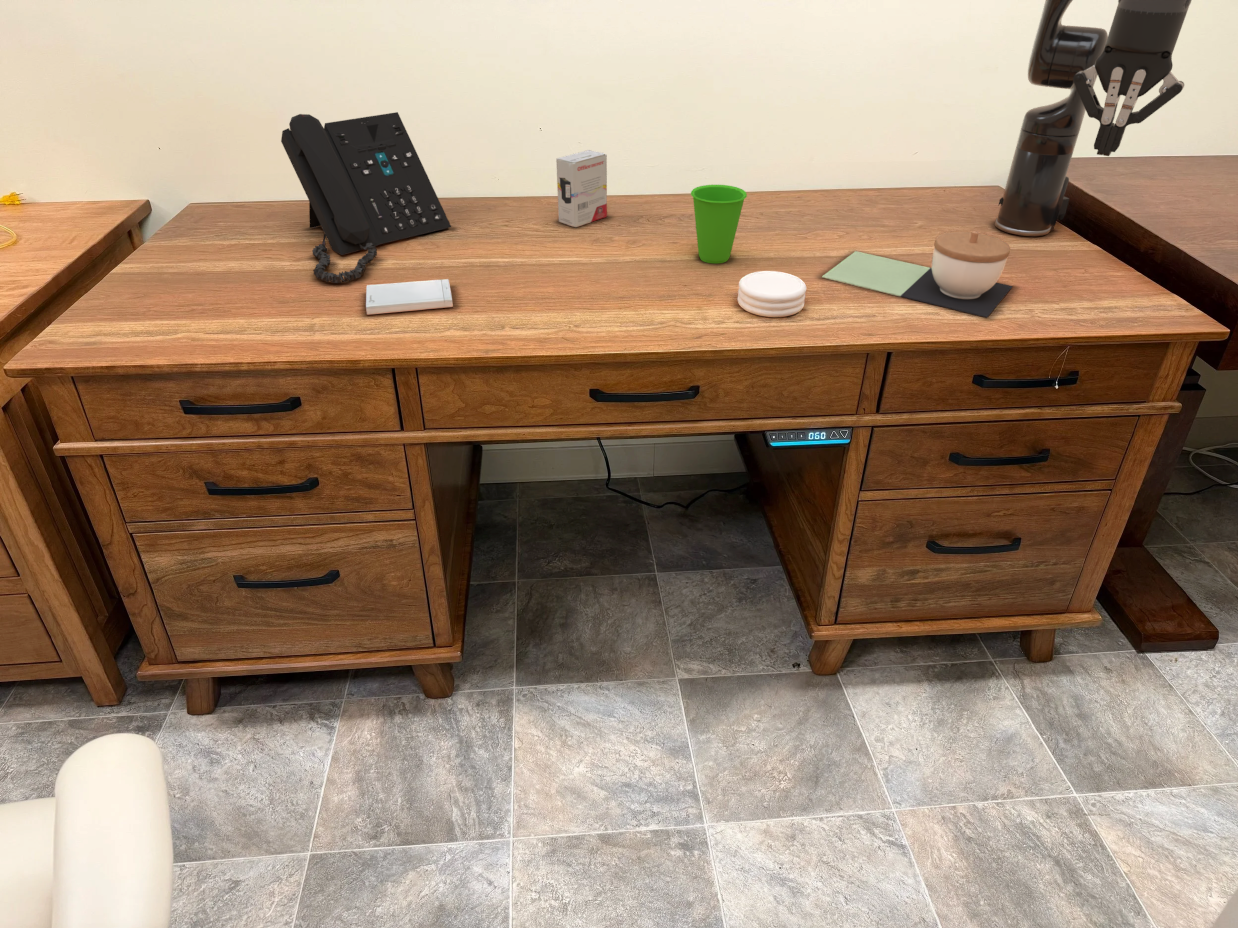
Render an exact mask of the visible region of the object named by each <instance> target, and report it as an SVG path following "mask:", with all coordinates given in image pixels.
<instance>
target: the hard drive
mask: <svg viewBox="0 0 1238 928" xmlns="http://www.w3.org/2000/svg"><path fill="white" fill-rule="evenodd" d="M365 290H366V291H365V311H366V316H367V315H370V316H371V315H379V314H390V313H391V314H392V313H401V312H402V313H403V312H411V311H422V310H423V311H424V310H433V309H443V308H445V309H446V308H453V307H454V305H453V303H454V302H453V296H452V295H453V294H452V289H451V285H450V279H449V278H444V279H431V280H418V281H417V280H415V281H403V282H392V283H391V282H389V283H378V284H377V283H376V284H367V285H366V289H365Z"/></svg>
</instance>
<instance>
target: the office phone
mask: <svg viewBox="0 0 1238 928" xmlns="http://www.w3.org/2000/svg"><path fill="white" fill-rule="evenodd" d="M280 142H281V144H282V147H283V149H284V151H285V153H286V155H287V157H288V159H289V162H290V163H291V165H292V168H293V170H294V172H295V174H296V177H297V178H298V180H299V182H300V184H301V186H302V189H303V191H304V193H305V195H306V198H307V199H308V201H309V203H308V206H309V207H308V211H309V217H308V218H309V219H308V220H309V229H313V228H317V227H321V229H322V231H323V233H324V234H323V237H322V242H321V243H319V244H318V245H315V246H314V247H313V248H312V250H311V251H312V256H313V257H315V258H316V259H317V260H318V263H316V264H315V267H314V269H313V270H312V271H313V275H314V276H315V278H316V279H318V280H321V281H323V282H326V283H329V282H331V283H332V284H342V283H348V282H350V281H355V279H358V278H362V275H364V272H365V271H366V268H367V264H371V262H372V261H373V260H375V259H376V258H377V257H376V256H377V255H378V249H377V246H380V245H382V244H388V243H391V242H396V241H399V240H400V241H401V240H403V239H407V238H408V239H409V238H412V237H417V236H421V235H424V234H429V233H433V232H436V231H441V230H446V229H449V228H452V225H451V223H450V220H449V219H448V217H447V215H446V212H445V210H444V208H443V205H442V203H441V202H440V199H439V197H438V195H437V193H436V190H435V189H434V187H433V185H432V182H431V180H430V178H429V176H428V174H427V172H426V170H425V167H424V165H423V163H422V161H421V159H420V157H419V155H418V153H417V150H416V148H415V146H414V144H413V142H412V140H411V137H410V136H409V134H408V131H407V129H406V127H405V125H404V123H403V121H402V118H401V116H400V114H399V112H398V111H395V112H389V113H383V114H377V115H370V116H364V117H356V118H351V119H343V120H338V121H331V122H325V123H324V125H322V123H321V121H320V119H318V118H316V117H315V116H313V115H311V114H307V113H306V114H305V113H299V114H296V115H294V116H292V117H291V118H290V121H289V128H285V129H284V130H282V132H281V139H280ZM326 240H327V242H328V244H329V246H330V248H331V250H332V251H333V252H335V253H337V254H338V255H340V256H345V255H348V254H353V253H356V252H359V251H362V250H365V251H367V252H366V253H364V255H363V256H362V257H361V258H359V259H358V260H357V262H356V265H355V267H354V269H350V270H349V271H346V270H345V271H344V272H343V270H342V271H339V272H338V274H337V273H334V272H329V271H325V270H326V269H327V268H328V267H329V265H330V264H331V255H330V254H328V253H327V252H328V247H327V246H326Z"/></svg>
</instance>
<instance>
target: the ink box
mask: <svg viewBox="0 0 1238 928" xmlns="http://www.w3.org/2000/svg"><path fill="white" fill-rule="evenodd" d="M607 160H608V159H607V154H606V153H604V152H601V151H596V150H592V149H587V150H583V151H579V152H575V153H572V154H569V155H568V154H567V155H564V156H560V157H557V158H556V161H555V162H556V185H557V213H558V223H561V224H564V225H567V226H569V227H573V228H579V227H581V226H584V225H587V224H590V223H593V222H596V221H598V220H601V219H605V218H607V217H608V185H607V184H608V181H607V180H608V170H607V169H608V168H607V167H608V165H607V163H608V161H607Z"/></svg>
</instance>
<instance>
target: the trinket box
mask: <svg viewBox="0 0 1238 928" xmlns="http://www.w3.org/2000/svg"><path fill="white" fill-rule="evenodd" d="M1010 253H1011V245H1010V244H1009V243H1008V242H1007V241H1005V240H1004V239H1002V238H1000V237H998V236H994V235H991V234H988V233H983V232H979V231H978V230H972V231H971V230H970V231H968V230H966V231H965V230H954V231H947V232H943V233H940V234H938V235H937V236H936V237H935V239H934V243H933V251H932V257H931V268H932V274H933V277H934V280H935V282H936V283H937V285H938V286H939V287H940V291H941V292H942V293H944V294H945V295H948V296H950V297H954V298H959V299H975V298H978V297H980V296H981V294H983V293H984V292H986V291H988V290H989V289H990V288H992V287H993V286H994V285H995V283H998V281H999V279H1000V278H1001V276H1002V274H1003V271H1004V269H1005V266H1006V264H1007V260H1008V257H1009V256H1010Z"/></svg>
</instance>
